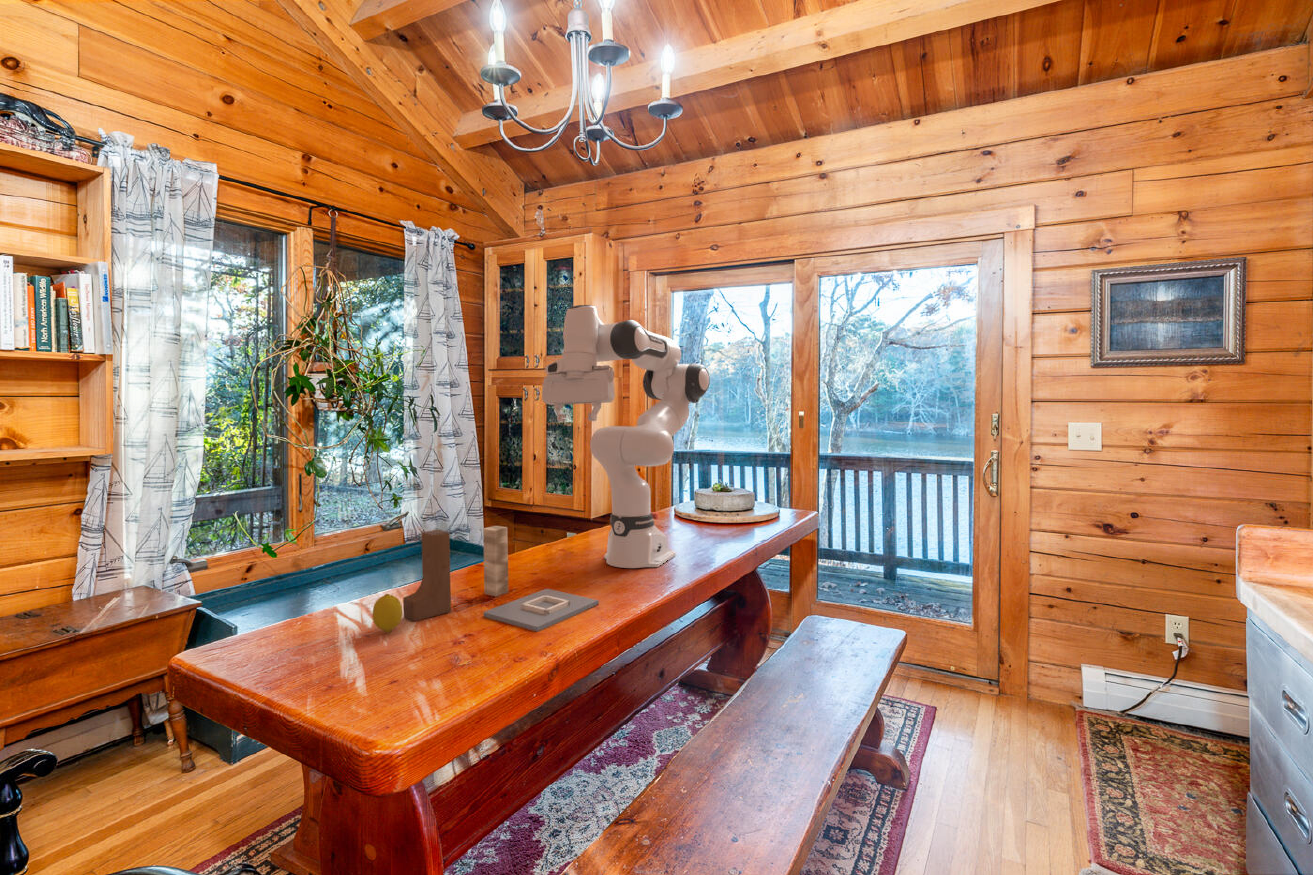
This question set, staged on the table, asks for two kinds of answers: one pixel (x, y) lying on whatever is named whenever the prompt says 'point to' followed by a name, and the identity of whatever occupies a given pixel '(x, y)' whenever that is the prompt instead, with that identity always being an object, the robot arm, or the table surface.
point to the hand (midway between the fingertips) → (576, 421)
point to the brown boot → (431, 579)
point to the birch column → (495, 560)
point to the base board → (540, 609)
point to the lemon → (387, 612)
